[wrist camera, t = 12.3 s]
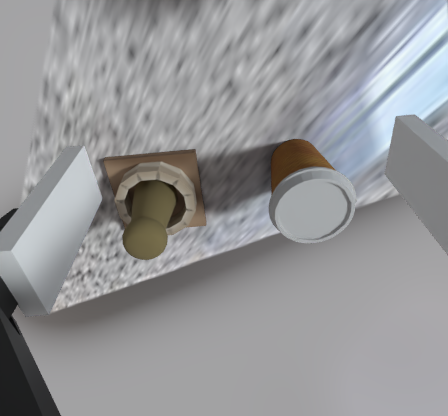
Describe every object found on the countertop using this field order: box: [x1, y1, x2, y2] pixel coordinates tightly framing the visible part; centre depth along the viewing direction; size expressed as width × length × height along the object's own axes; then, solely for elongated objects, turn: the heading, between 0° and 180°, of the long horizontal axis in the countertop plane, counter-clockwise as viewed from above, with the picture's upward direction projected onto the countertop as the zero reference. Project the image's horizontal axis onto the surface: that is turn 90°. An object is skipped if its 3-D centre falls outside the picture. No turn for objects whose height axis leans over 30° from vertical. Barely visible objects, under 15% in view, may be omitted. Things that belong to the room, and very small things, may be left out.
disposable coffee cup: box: [269, 139, 356, 243], centre depth 43 cm, size 10×10×12 cm
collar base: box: [103, 149, 206, 235], centre depth 49 cm, size 12×12×4 cm
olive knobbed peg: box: [122, 179, 178, 260], centre depth 45 cm, size 6×6×11 cm
